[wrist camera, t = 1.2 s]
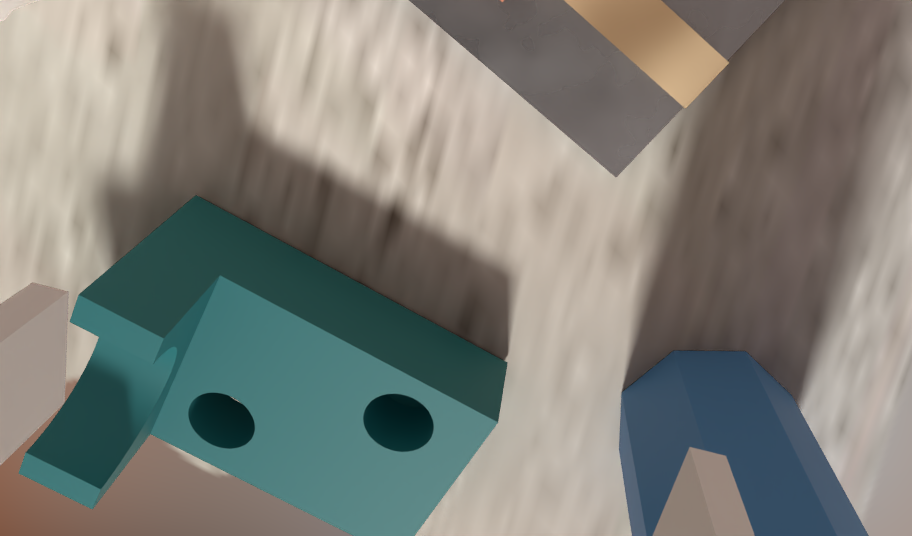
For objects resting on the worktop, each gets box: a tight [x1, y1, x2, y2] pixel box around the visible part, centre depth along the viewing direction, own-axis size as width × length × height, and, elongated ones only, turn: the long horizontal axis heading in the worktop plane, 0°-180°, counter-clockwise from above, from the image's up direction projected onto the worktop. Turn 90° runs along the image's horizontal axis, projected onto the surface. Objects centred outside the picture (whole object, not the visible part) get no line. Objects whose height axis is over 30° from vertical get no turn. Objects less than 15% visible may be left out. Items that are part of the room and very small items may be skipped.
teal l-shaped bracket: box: [19, 195, 507, 536], centre depth 39 cm, size 18×11×10 cm, turn 61°
